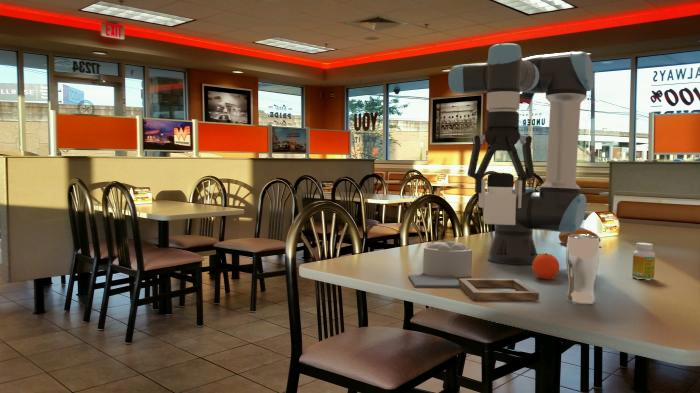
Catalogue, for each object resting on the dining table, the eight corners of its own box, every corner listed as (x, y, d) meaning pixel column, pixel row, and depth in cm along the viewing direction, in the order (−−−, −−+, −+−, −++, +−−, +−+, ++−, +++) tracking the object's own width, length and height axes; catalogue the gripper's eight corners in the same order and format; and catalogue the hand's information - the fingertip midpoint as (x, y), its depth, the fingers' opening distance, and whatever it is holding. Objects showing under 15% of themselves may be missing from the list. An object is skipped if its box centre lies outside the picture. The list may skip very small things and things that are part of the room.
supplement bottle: (645, 281, 154) (647, 245, 153) (627, 277, 158) (629, 242, 158) (658, 279, 156) (660, 244, 155) (640, 275, 161) (642, 241, 160)
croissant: (562, 253, 213) (563, 232, 212) (555, 241, 228) (556, 222, 227) (603, 253, 211) (604, 232, 209) (593, 241, 226) (594, 222, 224)
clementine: (523, 276, 158) (524, 251, 157) (543, 274, 160) (544, 249, 160) (544, 282, 150) (545, 255, 150) (564, 280, 153) (565, 254, 153)
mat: (452, 277, 154) (452, 275, 154) (463, 287, 142) (463, 285, 142) (408, 277, 154) (408, 275, 154) (415, 287, 142) (415, 285, 142)
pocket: (517, 285, 145) (517, 278, 145) (538, 300, 131) (538, 292, 130) (458, 285, 145) (459, 278, 145) (473, 300, 130) (473, 292, 130)
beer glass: (558, 297, 134) (561, 234, 133) (587, 297, 134) (590, 234, 133) (572, 305, 127) (575, 238, 126) (603, 305, 127) (606, 238, 126)
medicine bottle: (515, 225, 133) (517, 173, 132) (484, 224, 134) (485, 173, 133) (513, 221, 139) (515, 172, 139) (483, 220, 141) (484, 172, 140)
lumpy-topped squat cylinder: (431, 268, 168) (431, 239, 167) (475, 272, 163) (476, 242, 162) (420, 274, 159) (421, 243, 158) (466, 279, 153) (467, 247, 153)
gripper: (540, 113, 139) (537, 206, 141) (455, 111, 138) (453, 205, 140) (552, 110, 131) (548, 209, 133) (462, 109, 131) (459, 208, 132)
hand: (499, 207), depth 136 cm, fingers closed on medicine bottle, 8 cm apart
